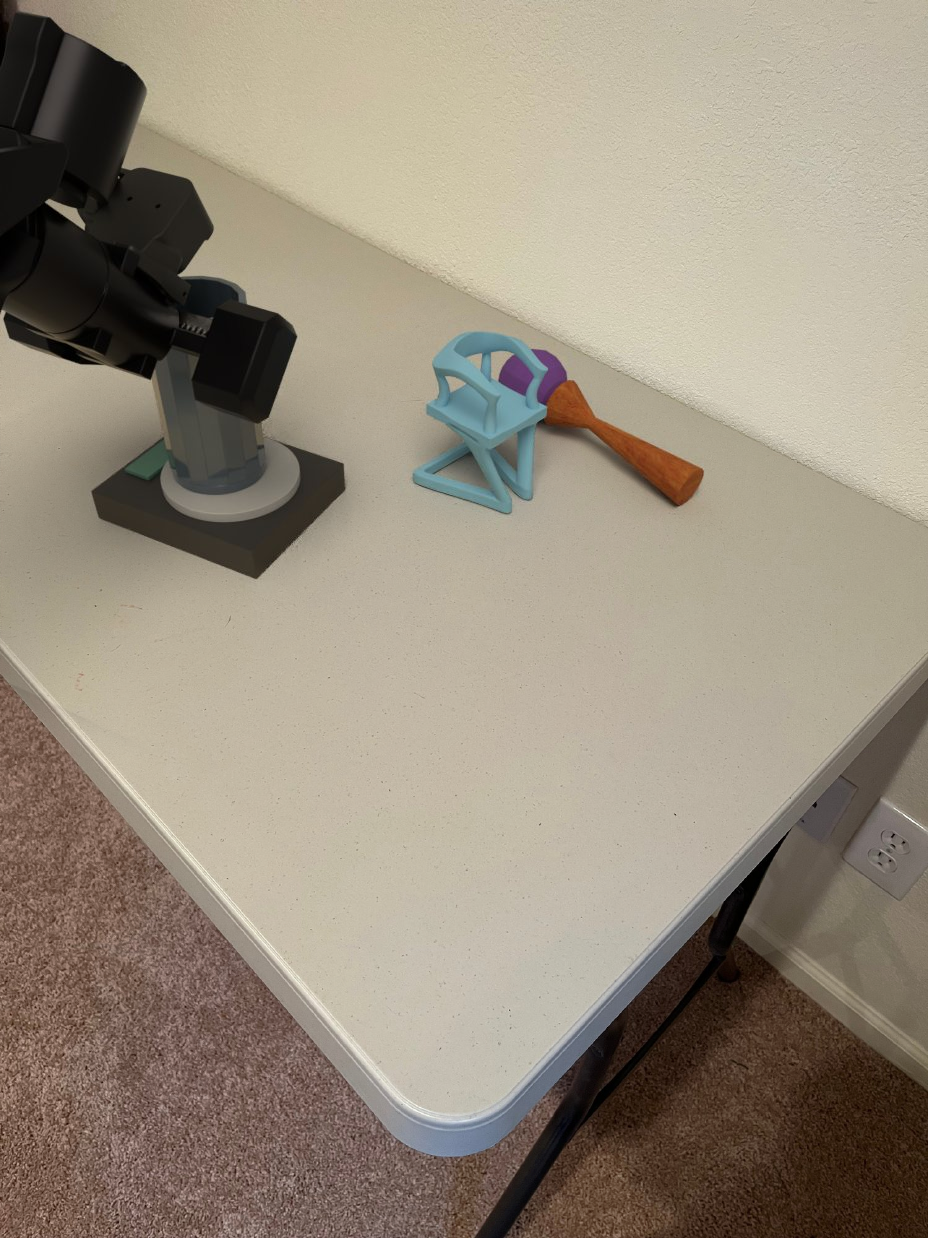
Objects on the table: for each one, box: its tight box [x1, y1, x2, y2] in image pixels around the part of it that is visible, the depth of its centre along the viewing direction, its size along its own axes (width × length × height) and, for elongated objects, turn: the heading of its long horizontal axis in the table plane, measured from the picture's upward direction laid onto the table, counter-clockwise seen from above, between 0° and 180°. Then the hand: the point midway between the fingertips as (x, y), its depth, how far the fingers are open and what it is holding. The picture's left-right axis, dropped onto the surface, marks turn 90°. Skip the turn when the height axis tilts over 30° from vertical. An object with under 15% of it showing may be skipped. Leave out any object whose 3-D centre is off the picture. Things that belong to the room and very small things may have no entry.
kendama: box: [497, 348, 705, 506], centre depth 76 cm, size 6×6×20 cm
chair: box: [412, 330, 548, 514], centre depth 69 cm, size 8×8×12 cm
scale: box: [90, 436, 346, 579], centre depth 68 cm, size 14×12×3 cm
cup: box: [151, 275, 267, 495], centre depth 63 cm, size 7×7×13 cm
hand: (218, 375), depth 63 cm, fingers open, 9 cm apart
